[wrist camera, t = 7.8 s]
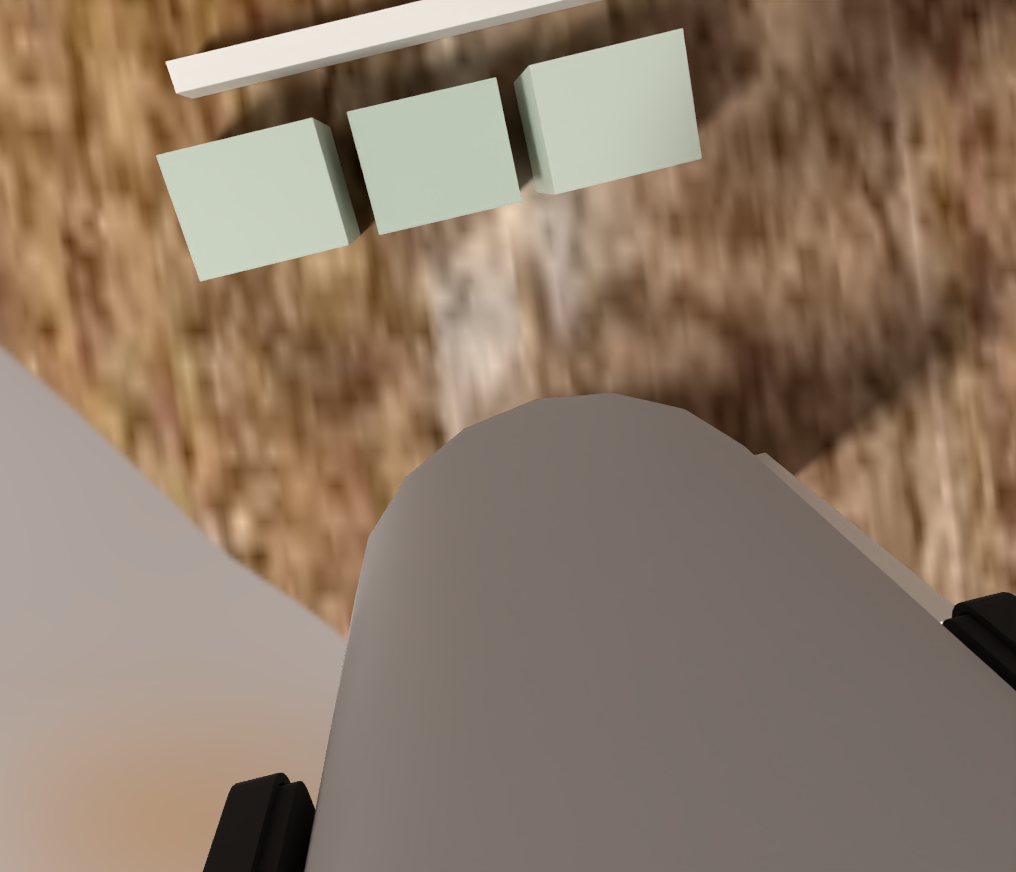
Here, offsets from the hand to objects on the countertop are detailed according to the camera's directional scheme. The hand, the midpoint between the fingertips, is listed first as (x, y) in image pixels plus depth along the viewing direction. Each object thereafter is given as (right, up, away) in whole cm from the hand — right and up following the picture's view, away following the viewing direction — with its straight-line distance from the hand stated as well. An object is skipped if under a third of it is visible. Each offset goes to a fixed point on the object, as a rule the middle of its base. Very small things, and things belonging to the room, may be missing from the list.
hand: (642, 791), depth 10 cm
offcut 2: (+1, +16, +21) cm, 27 cm away
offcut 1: (-10, +13, +21) cm, 27 cm away
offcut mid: (-4, +15, +21) cm, 26 cm away
